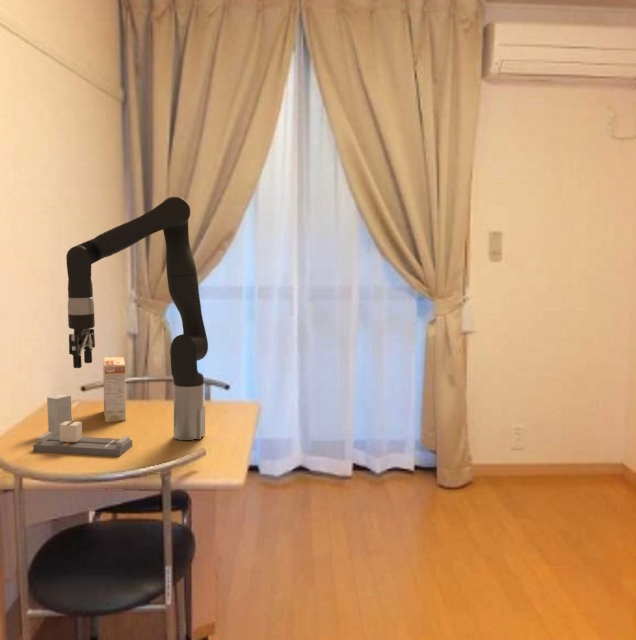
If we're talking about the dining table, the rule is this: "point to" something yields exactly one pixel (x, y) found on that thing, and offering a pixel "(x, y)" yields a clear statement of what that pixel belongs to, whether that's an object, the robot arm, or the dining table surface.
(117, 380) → the coffeecake box
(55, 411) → the skincare box
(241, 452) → the dining table surface
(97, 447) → the fader board
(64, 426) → the fader knob
